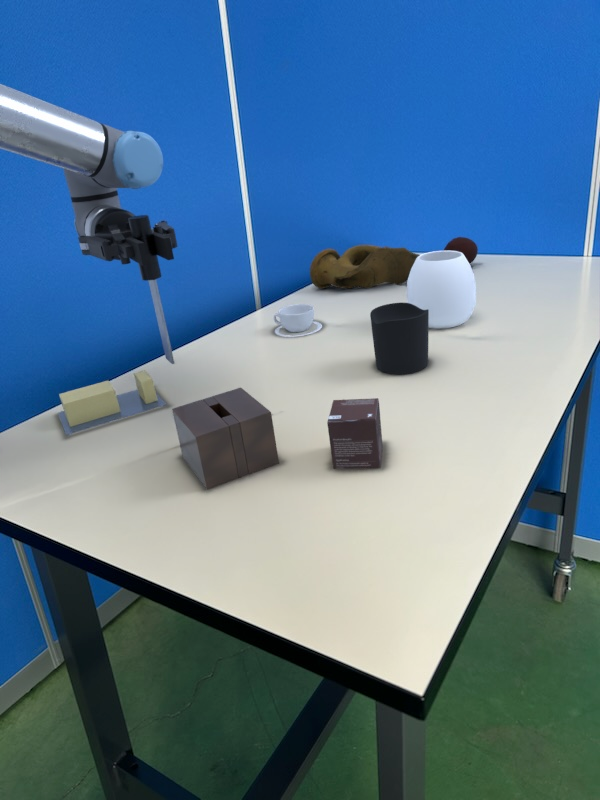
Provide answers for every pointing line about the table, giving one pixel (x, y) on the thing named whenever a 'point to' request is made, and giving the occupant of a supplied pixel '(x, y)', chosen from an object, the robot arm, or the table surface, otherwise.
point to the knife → (151, 274)
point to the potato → (463, 247)
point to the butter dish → (128, 406)
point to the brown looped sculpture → (361, 267)
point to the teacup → (296, 319)
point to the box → (355, 434)
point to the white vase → (443, 288)
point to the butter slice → (145, 387)
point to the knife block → (226, 437)
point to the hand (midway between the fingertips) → (156, 251)
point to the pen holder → (400, 338)
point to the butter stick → (89, 403)
